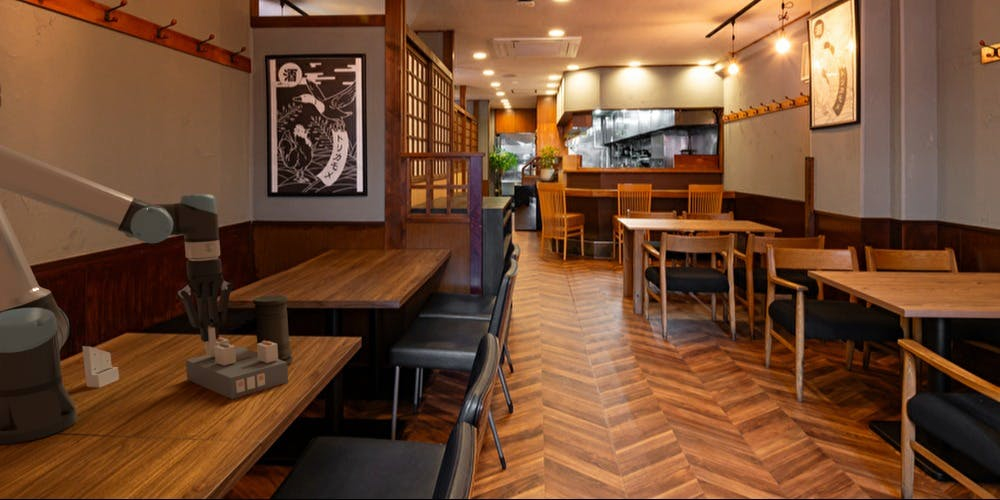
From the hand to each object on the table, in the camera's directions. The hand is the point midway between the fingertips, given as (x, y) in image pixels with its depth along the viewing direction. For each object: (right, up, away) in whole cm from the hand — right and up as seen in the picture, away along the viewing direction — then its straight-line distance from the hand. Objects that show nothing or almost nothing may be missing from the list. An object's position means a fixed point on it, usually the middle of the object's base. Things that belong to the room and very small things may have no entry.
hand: (211, 353), depth 148 cm
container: (+11, -5, +12) cm, 17 cm away
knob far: (+1, -1, +2) cm, 3 cm away
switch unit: (+7, -7, -1) cm, 10 cm away
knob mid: (+5, -2, -4) cm, 7 cm away
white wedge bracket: (-26, -7, -1) cm, 27 cm away
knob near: (+15, -1, -2) cm, 15 cm away
